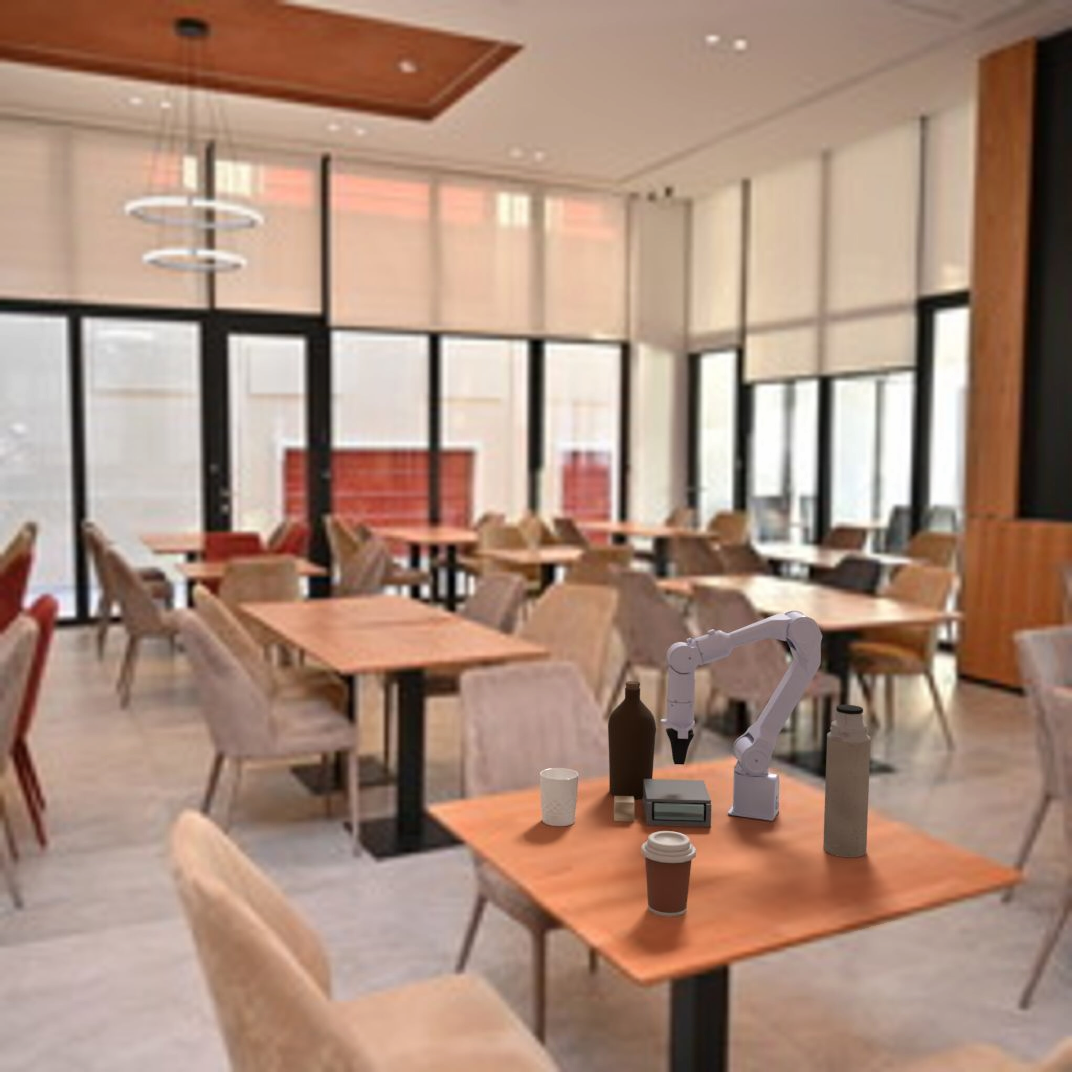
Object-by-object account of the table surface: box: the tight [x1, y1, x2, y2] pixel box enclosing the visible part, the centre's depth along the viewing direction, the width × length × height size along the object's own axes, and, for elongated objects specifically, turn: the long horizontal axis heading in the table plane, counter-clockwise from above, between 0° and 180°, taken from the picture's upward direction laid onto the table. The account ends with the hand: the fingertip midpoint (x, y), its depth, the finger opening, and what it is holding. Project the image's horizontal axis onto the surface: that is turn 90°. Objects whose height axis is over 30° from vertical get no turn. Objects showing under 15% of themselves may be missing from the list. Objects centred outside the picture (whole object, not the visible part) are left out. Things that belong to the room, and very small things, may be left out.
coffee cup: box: [640, 830, 697, 918], centre depth 177 cm, size 9×9×12 cm
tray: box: [652, 802, 704, 821], centre depth 223 cm, size 10×12×3 cm
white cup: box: [539, 767, 579, 827], centre depth 219 cm, size 8×8×10 cm
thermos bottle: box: [822, 704, 872, 858], centre depth 204 cm, size 8×8×28 cm
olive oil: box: [607, 680, 657, 800], centre depth 237 cm, size 11×11×25 cm
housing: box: [642, 778, 712, 828], centre depth 224 cm, size 13×14×5 cm
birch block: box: [613, 795, 635, 823], centre depth 221 cm, size 4×4×4 cm
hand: (678, 763), depth 225 cm, fingers closed
